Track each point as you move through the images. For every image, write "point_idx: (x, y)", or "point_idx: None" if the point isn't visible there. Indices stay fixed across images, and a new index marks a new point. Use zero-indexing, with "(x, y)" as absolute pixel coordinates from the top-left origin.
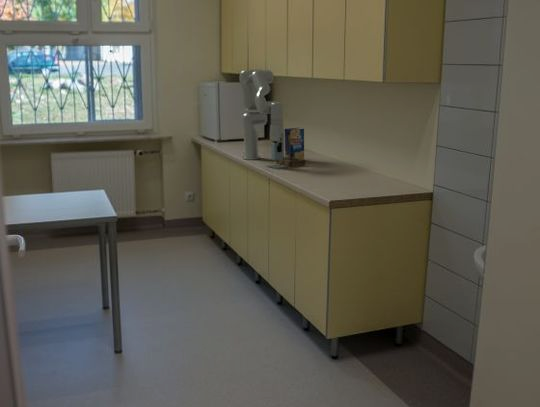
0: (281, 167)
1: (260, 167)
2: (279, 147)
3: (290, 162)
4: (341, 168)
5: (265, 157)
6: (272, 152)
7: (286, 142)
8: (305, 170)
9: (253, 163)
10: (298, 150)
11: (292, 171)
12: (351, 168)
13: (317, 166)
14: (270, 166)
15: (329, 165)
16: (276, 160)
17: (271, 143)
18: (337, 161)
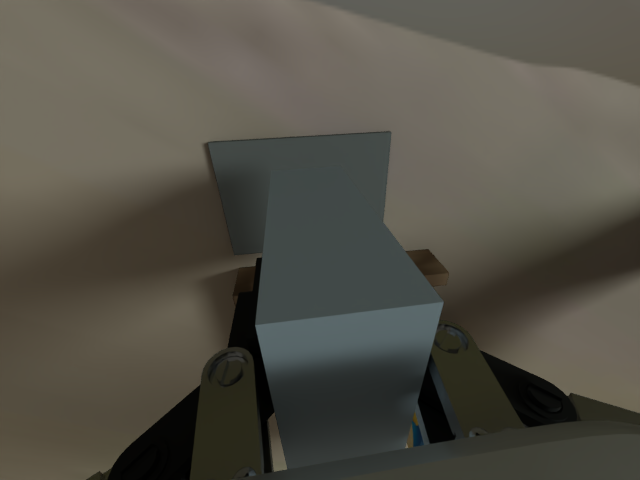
0: (250, 204)
1: (405, 49)
2: (230, 337)
3: (235, 293)
4: (79, 440)
5: (636, 292)
6: (330, 198)
7: None
8: (68, 297)
9: (599, 115)
10: (419, 439)
11: (45, 202)
12: (64, 464)
13: (193, 387)
14: (352, 149)
15: None
16: (436, 265)
17: (428, 302)
18: (274, 464)
